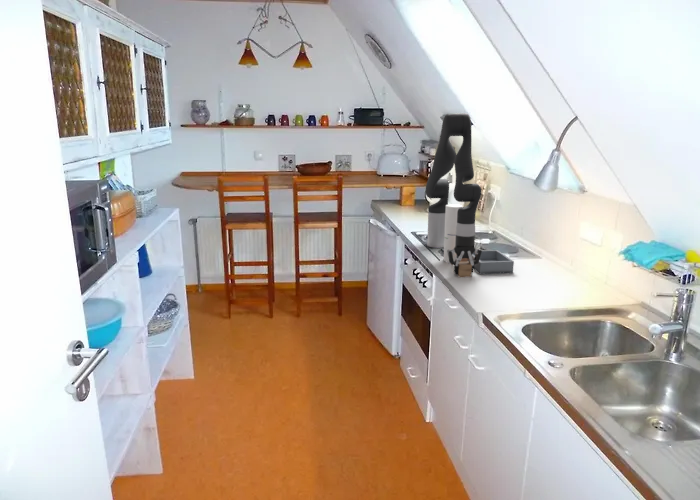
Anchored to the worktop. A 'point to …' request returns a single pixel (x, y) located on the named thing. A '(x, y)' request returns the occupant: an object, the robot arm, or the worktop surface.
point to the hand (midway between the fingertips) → (463, 273)
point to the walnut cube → (464, 269)
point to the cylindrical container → (450, 229)
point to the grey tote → (493, 263)
